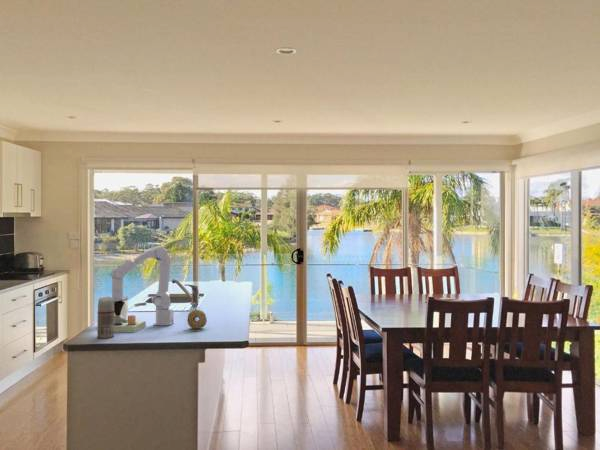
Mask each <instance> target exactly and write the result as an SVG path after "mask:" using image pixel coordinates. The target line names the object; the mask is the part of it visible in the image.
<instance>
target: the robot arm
mask: <svg viewBox="0 0 600 450" xmlns="http://www.w3.org/2000/svg"><path fill="white" fill-rule="evenodd" d="M149 258H150V259H151V258H154V259H156V260H157V261H158V262H159V264H160V266H159V278H158V279H159V281H158V289H157V292H156V293H155V297H154V300H153V304H154V306H155V323H153V326H171V325H172V324H174V323H175V322H174V319H175V318H174V317H175V316H174V315H175V314H174V313H175V312H174V309H173V308H170V306H171V304H172V301H171V295H170V293H169V284H170V283H169V282H170V274H171V273H170V271H171V258H170V255H169V252H168V250H167V249H166V248H165V247H163V246H157V245H154V246H152V247H150V248H148V249H146V250H145V251H143V252H142V253H140V254H139V255H138V256H136V257H135V258H133V259H130V258H129V259H126V260H125V261H124V262H123V263H121V264H118V265H117V267H114V268H112V269H111V270H110V273H109V275H110V277H111V297H112V298H113V299H114V301H115V302H114V312H115V315H116V316H120V314H121V310H122V307H123V305H124V302H122V301H125V300H127V301H128V300H129V296H125V295H124V278H125V275H127V274H128V273H130V272H132V271H133V270H135V269H136V267H137V265H139V264H141V263H142V262H144V261H145V260H148V259H149ZM123 296H125V297H123Z"/></svg>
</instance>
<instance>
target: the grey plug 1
mask: <svg viewBox="0 0 600 450" xmlns="http://www.w3.org/2000/svg"><path fill="white" fill-rule="evenodd" d="M114 325H122V316H114Z"/></svg>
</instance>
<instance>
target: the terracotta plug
mask: <svg viewBox="0 0 600 450" xmlns="http://www.w3.org/2000/svg"><path fill="white" fill-rule="evenodd" d="M136 317H137V316H136V314H131V315H130V314H129V315H127V319H128V325H135V324H136V321H137V320H136V319H137V318H136Z"/></svg>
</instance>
